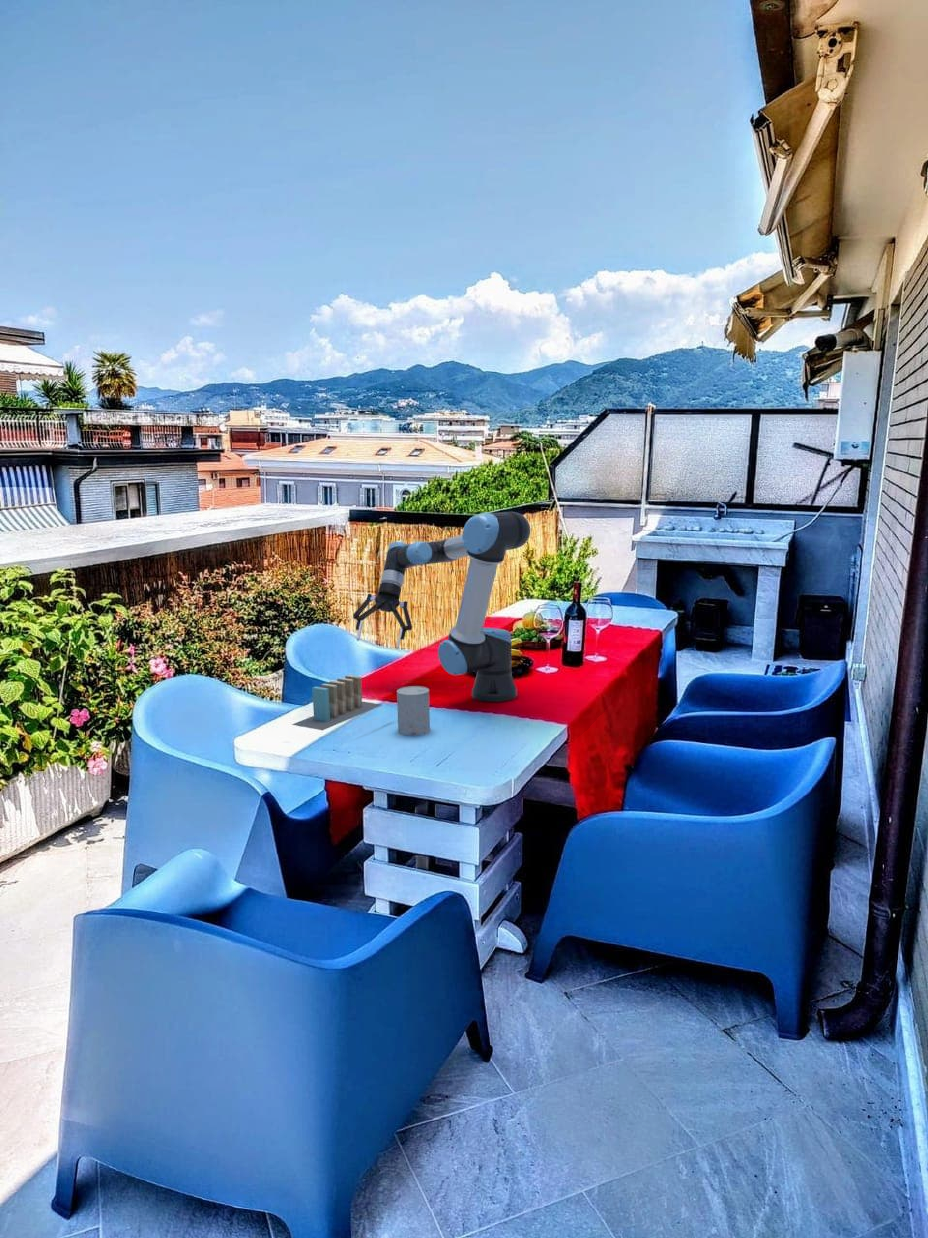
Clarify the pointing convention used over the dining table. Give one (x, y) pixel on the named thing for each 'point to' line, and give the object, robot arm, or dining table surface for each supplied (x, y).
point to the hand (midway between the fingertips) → (377, 643)
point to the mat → (324, 725)
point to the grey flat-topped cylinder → (413, 710)
